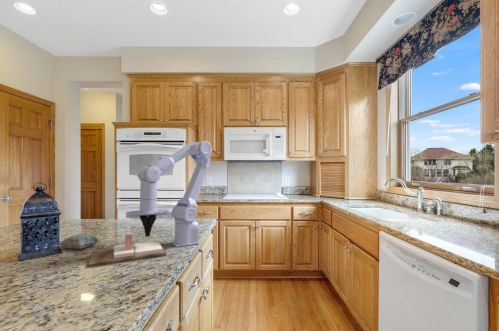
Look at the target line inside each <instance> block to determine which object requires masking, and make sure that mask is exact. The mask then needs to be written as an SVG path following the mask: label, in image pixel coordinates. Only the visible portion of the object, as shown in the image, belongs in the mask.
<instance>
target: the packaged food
mask: <svg viewBox="0 0 499 331" xmlns="http://www.w3.org/2000/svg"><path fill="white" fill-rule="evenodd" d="M98 242H100V239H99V238H98V237H96V236H95V235H93V234H83V233H82V234H81V233H79V234H78V233H77V234H72V235H70V236H68V237H66V238H64V239H63V240H62V241H60V242H59V243H60V246H59V247H61V248H63V249H71V250H82V249H87V248H89V247H92V246H94V245H96V244H97V243H98Z"/></svg>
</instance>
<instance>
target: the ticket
mask: <svg viewBox="0 0 499 331" xmlns="http://www.w3.org/2000/svg"><path fill="white" fill-rule="evenodd" d="M160 243H161V242H159V240H155V241H154V240H153V241H145V242H136V243H132V245H133V249H134V254H135V256H139V255H146V254H153V253H160V252H163V248H164V247H163V246H162V247H163V248H162V247H161V245H162V244H161V245H160Z"/></svg>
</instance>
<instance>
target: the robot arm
mask: <svg viewBox="0 0 499 331" xmlns="http://www.w3.org/2000/svg"><path fill="white" fill-rule="evenodd" d="M212 152H213V148H212V146H211V144H210V142H209V141H208V140H202V141H195V142H194V141H193V142H192V141H191V142H190V143H188V144H186V145H185V146H183V147H182V148H180V149H179V150H177V151H176V152H174V153H173V154H171V155H170V156H169V155H168V156H167V155H165V156H163V155H161V156H159V158H158V160H156V161H153V162H150V163H149V165H148V166H144V167H142V168H141V169H140V170H139V171H138V173H137V178H138V179H139V181H140V185H139V186H140V187H139V188H140V191H139V210H132V211H131V210H130V211H126V212H125V218H126V219H130V218H139V219H140V221H141V223H142V226H143V230H144V236H145V237H147V238H149V237H150V236H151V232H152V229H153V226H154V225H155V224H154V223H155V222H156V220H157V217H158V216H169V215H170V214H169V212H170V210H169V209H157V204H158V203H157V201H158V199H157V198H158V181H159V180H160V179H161V177H162V176H163V175H165V174H166V173H168V172H169V171H171V170H172V169H174V167H175V164H176V163H177V162H179V161H181V160H183V159H184V158H186V157H188V156H190V157H191V159H192V160H193V161H194V162H195V164H196V165H195V167H194V169H193V170H194V171H193V173H192V175H191V177H190V180H189V183H188V185H187V187H186V189H185V192H184V194H183V197H181V198H180V199H179V200H178V201H177V203H176V204H175V206H173V208H172V209H171V216H172V218H173V219H174V240H171V243H172V244H173V245H174V247H176V248H178V247H184V246H194V245H199V244H200V242H199V241H200V240H199V239H200V238H199V236H200V235H199V231H200V228H199V223H198V221H196V220H195V219H196V217H197V210H198V207H199V206H198V204H197V202H196V201H197V199H198V197H199V196H198V195H199V194H200V190H201V189H202V185H203V183H204V181H205V178H206V176H207V174H208V171H209V168H210V166H211V156H212Z"/></svg>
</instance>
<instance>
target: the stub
mask: <svg viewBox="0 0 499 331" xmlns="http://www.w3.org/2000/svg"><path fill="white" fill-rule="evenodd" d="M124 238H125V240H124V241H125V242H124V244H117V245H113V248H114V258H121V257H128V256H134V249H133V236H132V234H125V237H124Z"/></svg>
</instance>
